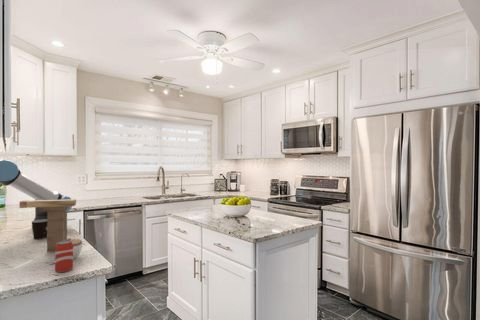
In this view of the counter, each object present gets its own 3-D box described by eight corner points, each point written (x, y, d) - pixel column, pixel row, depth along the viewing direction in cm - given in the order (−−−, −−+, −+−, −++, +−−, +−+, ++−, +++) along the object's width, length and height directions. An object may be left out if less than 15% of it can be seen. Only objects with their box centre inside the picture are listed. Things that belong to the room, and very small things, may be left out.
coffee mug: (39, 240, 163) (40, 222, 163) (27, 239, 165) (27, 222, 165) (56, 234, 174) (57, 218, 174) (45, 234, 176) (45, 218, 176)
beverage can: (69, 266, 123) (69, 239, 123) (74, 270, 119) (75, 241, 119) (53, 270, 119) (53, 241, 119) (58, 274, 114) (58, 245, 114)
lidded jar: (82, 259, 131) (82, 239, 131) (54, 263, 126) (54, 242, 126) (81, 253, 141) (82, 234, 141) (56, 256, 135) (56, 237, 135)
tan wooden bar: (22, 206, 144) (23, 200, 144) (76, 204, 151) (76, 199, 151) (19, 207, 140) (19, 201, 140) (74, 206, 147) (74, 200, 147)
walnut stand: (44, 247, 149) (45, 205, 149) (68, 246, 152) (68, 204, 152) (38, 253, 140) (38, 207, 140) (63, 251, 144) (64, 207, 144)
